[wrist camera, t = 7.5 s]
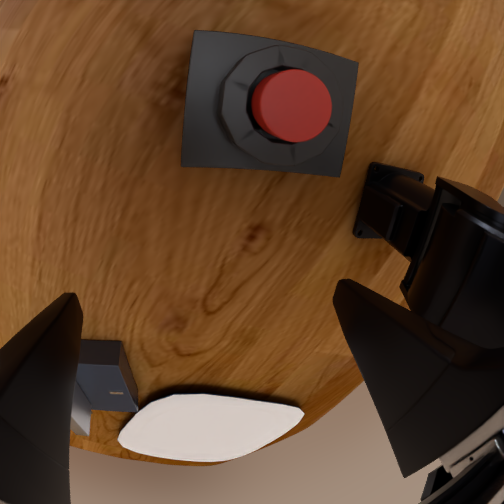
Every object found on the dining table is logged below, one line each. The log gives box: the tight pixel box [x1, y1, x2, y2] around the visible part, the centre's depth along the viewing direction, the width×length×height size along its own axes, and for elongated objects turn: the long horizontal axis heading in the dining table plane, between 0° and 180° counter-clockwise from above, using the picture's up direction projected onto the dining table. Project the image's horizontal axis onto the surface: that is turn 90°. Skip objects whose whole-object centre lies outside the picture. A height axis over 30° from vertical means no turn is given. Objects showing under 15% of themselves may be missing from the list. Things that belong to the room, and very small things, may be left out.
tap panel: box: [76, 340, 138, 414], centre depth 22 cm, size 12×11×3 cm
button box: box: [181, 30, 359, 177], centre depth 14 cm, size 10×8×4 cm
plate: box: [117, 393, 304, 462], centre depth 35 cm, size 25×25×2 cm
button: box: [251, 69, 332, 142], centre depth 12 cm, size 4×4×2 cm
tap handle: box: [70, 381, 92, 436], centre depth 19 cm, size 6×2×4 cm, turn 173°
